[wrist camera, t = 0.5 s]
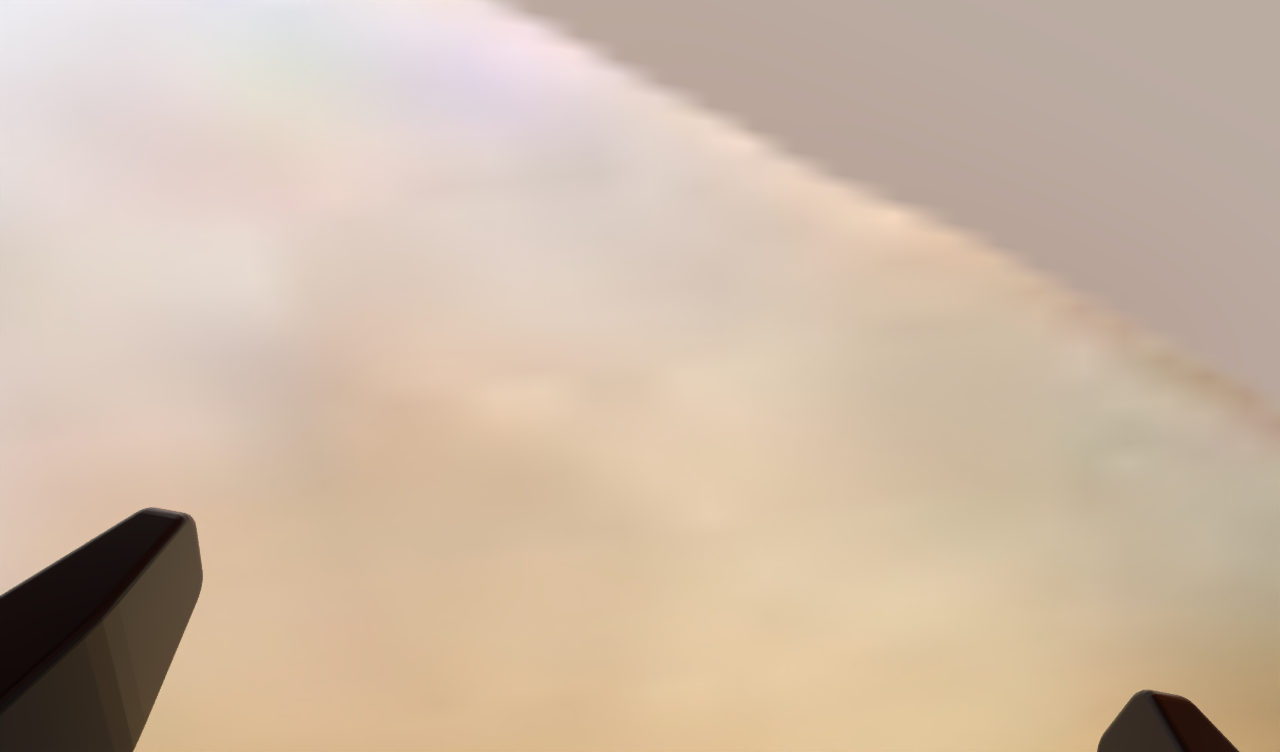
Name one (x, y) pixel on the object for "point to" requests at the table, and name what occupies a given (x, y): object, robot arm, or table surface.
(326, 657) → the table surface
